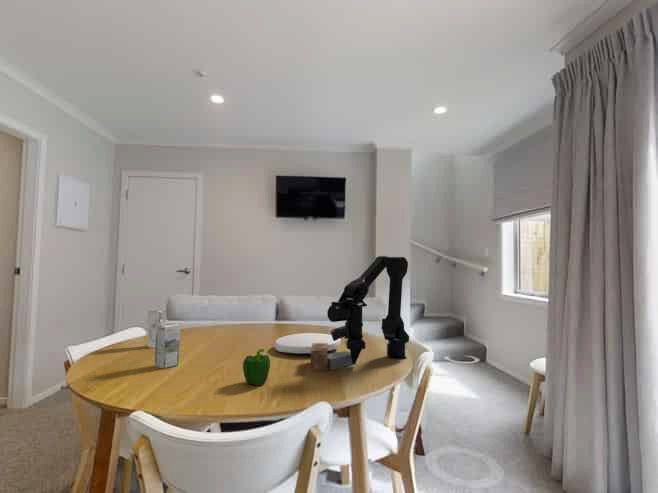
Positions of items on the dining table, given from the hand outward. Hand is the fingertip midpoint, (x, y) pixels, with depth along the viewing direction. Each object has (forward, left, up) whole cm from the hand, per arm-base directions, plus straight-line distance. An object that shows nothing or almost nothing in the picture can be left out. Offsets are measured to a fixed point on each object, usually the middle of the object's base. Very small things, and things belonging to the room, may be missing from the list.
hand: (353, 363), depth 125 cm
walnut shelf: (+12, 0, -1) cm, 12 cm away
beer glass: (+84, -26, -1) cm, 88 cm away
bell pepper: (+31, +18, -1) cm, 36 cm away
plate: (+18, -24, -2) cm, 30 cm away
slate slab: (+6, -2, -2) cm, 6 cm away
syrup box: (+66, +2, -1) cm, 66 cm away
